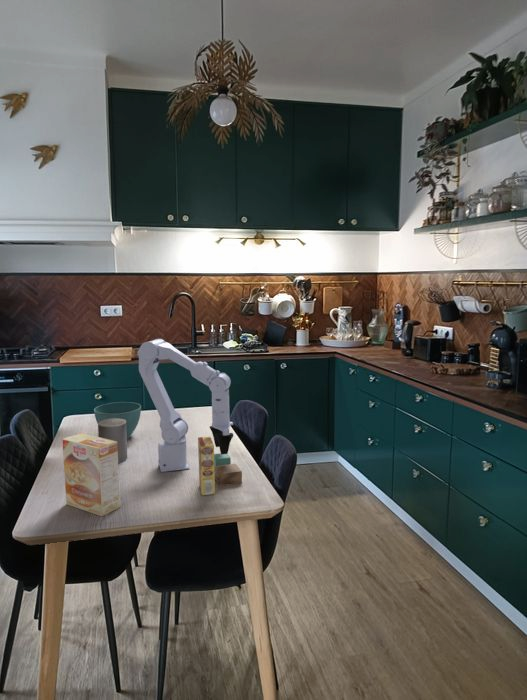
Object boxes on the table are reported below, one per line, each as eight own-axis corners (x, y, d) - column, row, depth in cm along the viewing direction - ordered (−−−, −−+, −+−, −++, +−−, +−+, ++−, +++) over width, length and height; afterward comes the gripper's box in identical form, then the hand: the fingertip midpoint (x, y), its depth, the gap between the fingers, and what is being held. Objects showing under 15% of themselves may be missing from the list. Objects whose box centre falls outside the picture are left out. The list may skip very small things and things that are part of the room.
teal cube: (215, 473, 169) (215, 459, 169) (212, 468, 174) (212, 454, 173) (230, 471, 171) (230, 457, 170) (227, 466, 176) (226, 452, 175)
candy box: (215, 494, 153) (214, 445, 151) (201, 496, 152) (200, 446, 150) (211, 483, 161) (211, 436, 159) (198, 484, 161) (197, 437, 158)
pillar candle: (94, 459, 182) (92, 418, 180) (118, 452, 189) (116, 413, 187) (108, 466, 176) (106, 424, 174) (133, 459, 183) (131, 418, 181)
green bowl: (117, 447, 196) (116, 415, 194) (85, 439, 205) (84, 409, 203) (151, 434, 211) (150, 405, 209) (120, 427, 220) (119, 399, 219)
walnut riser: (220, 486, 160) (220, 474, 159) (214, 478, 166) (214, 466, 165) (241, 483, 162) (241, 471, 161) (235, 475, 168) (235, 463, 168)
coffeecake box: (65, 504, 147) (61, 438, 144) (85, 495, 153) (82, 432, 150) (101, 517, 139) (97, 447, 136) (121, 507, 145) (118, 440, 142)
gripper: (238, 415, 164) (238, 455, 166) (227, 404, 177) (227, 442, 179) (216, 417, 162) (217, 458, 164) (207, 406, 175) (207, 444, 177)
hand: (221, 450), depth 171 cm, fingers open, 7 cm apart
